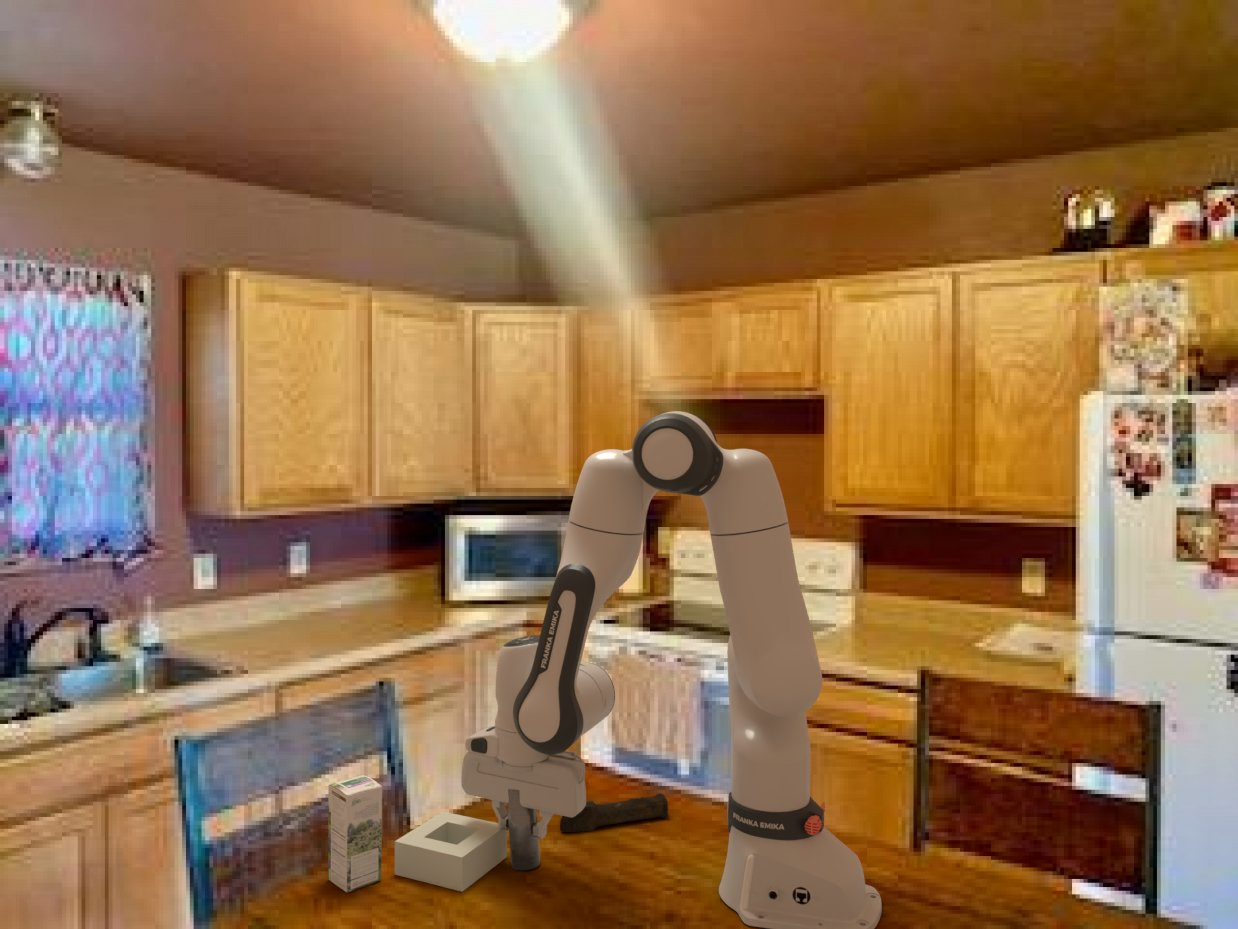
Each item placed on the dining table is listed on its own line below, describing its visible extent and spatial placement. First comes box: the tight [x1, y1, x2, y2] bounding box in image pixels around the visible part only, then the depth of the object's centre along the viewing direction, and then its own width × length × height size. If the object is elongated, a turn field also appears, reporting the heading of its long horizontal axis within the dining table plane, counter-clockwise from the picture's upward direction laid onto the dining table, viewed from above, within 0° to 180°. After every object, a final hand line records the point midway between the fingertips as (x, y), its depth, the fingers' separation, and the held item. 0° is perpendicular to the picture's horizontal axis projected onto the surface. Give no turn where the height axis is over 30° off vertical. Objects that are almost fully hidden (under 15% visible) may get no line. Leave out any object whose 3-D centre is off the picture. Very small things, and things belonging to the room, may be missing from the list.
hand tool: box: [559, 793, 669, 833], centre depth 156 cm, size 19×4×5 cm, turn 110°
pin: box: [506, 789, 541, 871], centre depth 140 cm, size 4×4×12 cm
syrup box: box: [327, 774, 383, 894], centre depth 135 cm, size 6×6×14 cm
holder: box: [394, 811, 508, 893], centre depth 140 cm, size 12×12×5 cm
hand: (522, 832), depth 140 cm, fingers closed on pin, 5 cm apart
